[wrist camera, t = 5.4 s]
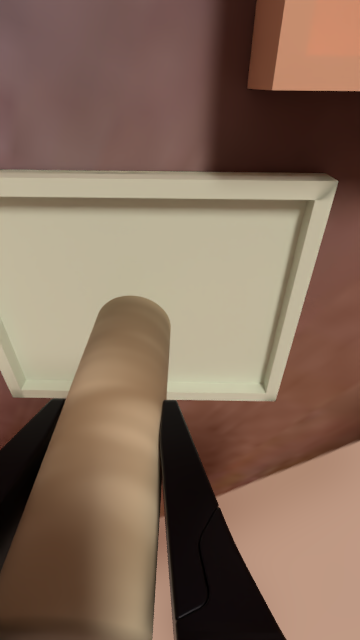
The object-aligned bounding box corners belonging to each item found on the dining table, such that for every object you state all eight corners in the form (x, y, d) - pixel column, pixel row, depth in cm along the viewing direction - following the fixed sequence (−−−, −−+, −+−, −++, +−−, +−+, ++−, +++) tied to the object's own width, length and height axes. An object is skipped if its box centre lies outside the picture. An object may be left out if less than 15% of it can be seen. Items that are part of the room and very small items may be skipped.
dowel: (170, 296, 12) (147, 617, 5) (171, 354, 14) (155, 651, 7) (91, 294, 12) (-51, 613, 5) (102, 353, 14) (11, 649, 7)
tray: (325, 173, 11) (338, 181, 10) (270, 384, 18) (275, 401, 17) (-67, 168, 11) (-90, 176, 10) (22, 380, 18) (12, 397, 17)
